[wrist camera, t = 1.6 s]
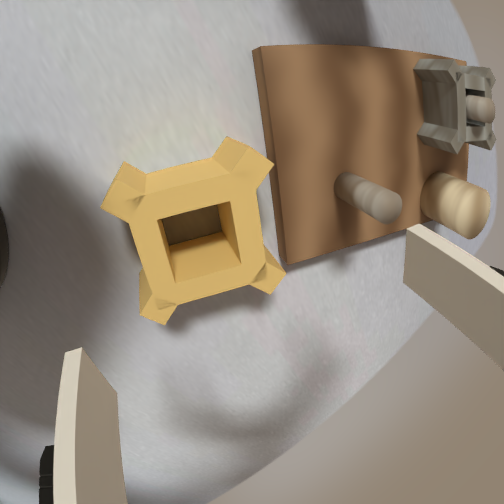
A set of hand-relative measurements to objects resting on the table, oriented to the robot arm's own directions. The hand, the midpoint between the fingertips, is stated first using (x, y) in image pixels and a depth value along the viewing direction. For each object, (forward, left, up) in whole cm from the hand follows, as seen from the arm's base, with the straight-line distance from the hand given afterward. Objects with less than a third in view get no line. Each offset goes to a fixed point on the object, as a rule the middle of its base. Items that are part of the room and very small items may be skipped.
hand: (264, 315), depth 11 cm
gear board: (+18, +2, -16) cm, 24 cm away
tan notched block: (-1, -1, -16) cm, 16 cm away
